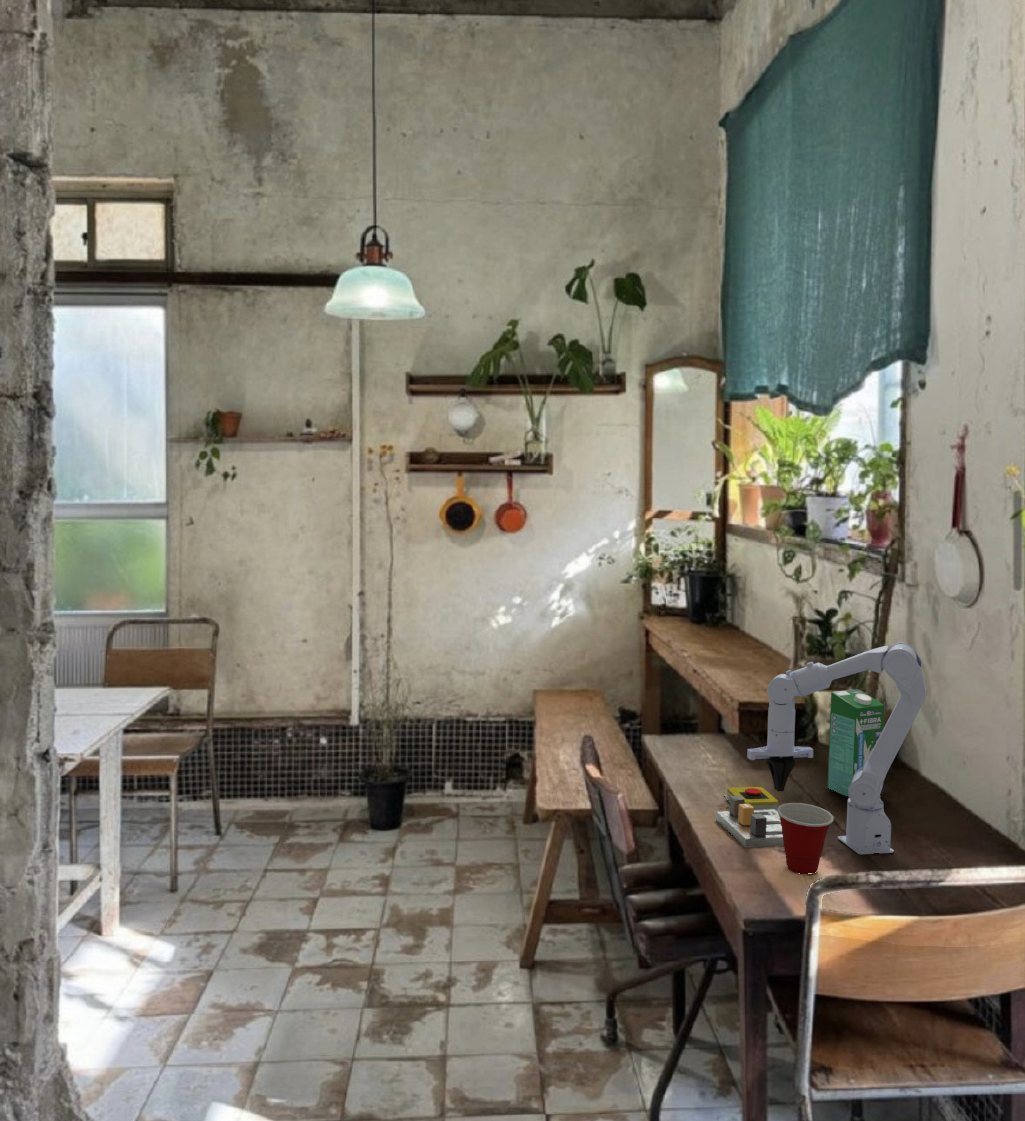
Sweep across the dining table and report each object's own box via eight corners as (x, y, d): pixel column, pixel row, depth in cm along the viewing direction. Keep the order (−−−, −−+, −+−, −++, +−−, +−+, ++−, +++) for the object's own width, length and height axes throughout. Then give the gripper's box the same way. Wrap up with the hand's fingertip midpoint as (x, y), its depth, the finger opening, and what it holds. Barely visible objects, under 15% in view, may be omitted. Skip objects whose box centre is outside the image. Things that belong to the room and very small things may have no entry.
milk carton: (852, 799, 240) (857, 698, 238) (827, 788, 248) (830, 691, 246) (881, 794, 243) (885, 695, 241) (854, 784, 252) (858, 688, 249)
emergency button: (744, 799, 227) (722, 779, 241) (743, 818, 227) (722, 797, 242) (782, 798, 228) (759, 778, 242) (782, 817, 228) (758, 796, 243)
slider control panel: (807, 844, 209) (808, 817, 209) (745, 847, 207) (746, 820, 207) (774, 817, 226) (775, 792, 225) (716, 820, 224) (717, 794, 223)
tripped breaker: (753, 824, 215) (754, 807, 214) (743, 825, 214) (743, 807, 214) (748, 820, 217) (749, 803, 217) (738, 820, 217) (738, 803, 217)
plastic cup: (808, 885, 188) (810, 824, 187) (763, 867, 197) (765, 808, 196) (843, 872, 195) (845, 813, 194) (798, 855, 203) (800, 798, 202)
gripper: (803, 723, 220) (801, 782, 221) (742, 725, 218) (740, 785, 219) (818, 732, 213) (816, 792, 214) (755, 734, 211) (753, 795, 212)
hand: (779, 789), depth 216 cm, fingers closed
